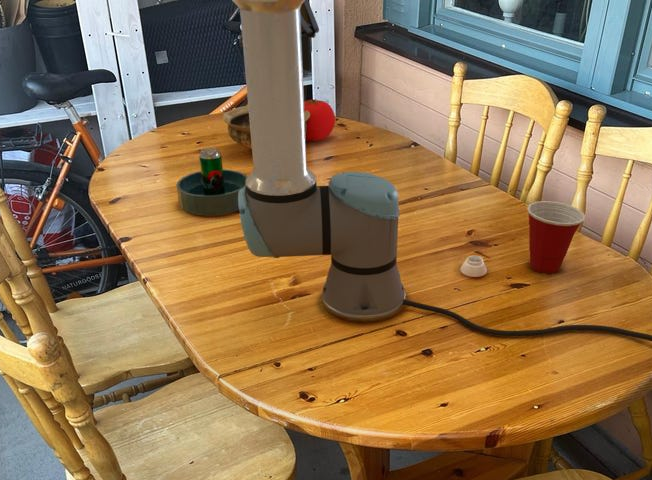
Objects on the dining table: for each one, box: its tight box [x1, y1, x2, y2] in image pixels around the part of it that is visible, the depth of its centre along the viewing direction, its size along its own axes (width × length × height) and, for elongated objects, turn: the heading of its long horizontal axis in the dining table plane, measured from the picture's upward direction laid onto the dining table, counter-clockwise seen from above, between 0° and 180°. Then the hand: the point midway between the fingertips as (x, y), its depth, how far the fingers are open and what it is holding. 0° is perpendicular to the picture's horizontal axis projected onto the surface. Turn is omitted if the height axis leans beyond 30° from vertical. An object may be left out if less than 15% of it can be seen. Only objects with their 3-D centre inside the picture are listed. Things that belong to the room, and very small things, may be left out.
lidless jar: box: [460, 255, 488, 278], centre depth 136 cm, size 5×3×5 cm
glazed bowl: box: [175, 168, 248, 216], centre depth 165 cm, size 17×17×5 cm
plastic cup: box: [526, 200, 586, 274], centre depth 135 cm, size 11×11×12 cm
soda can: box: [198, 147, 225, 195], centre depth 163 cm, size 5×5×12 cm
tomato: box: [304, 98, 336, 142], centre depth 201 cm, size 12×13×11 cm
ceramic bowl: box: [222, 105, 310, 149], centre depth 194 cm, size 30×24×10 cm
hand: (282, 75), depth 151 cm, fingers open, 13 cm apart
